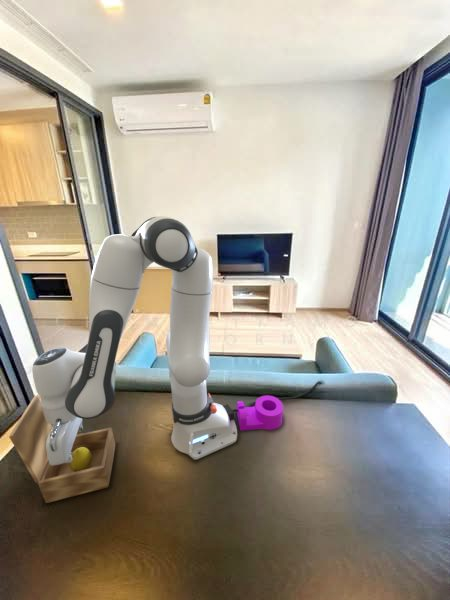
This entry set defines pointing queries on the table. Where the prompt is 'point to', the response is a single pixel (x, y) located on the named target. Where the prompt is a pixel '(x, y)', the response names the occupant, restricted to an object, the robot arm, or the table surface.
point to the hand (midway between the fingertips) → (74, 444)
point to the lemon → (81, 459)
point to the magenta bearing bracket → (260, 414)
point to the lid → (32, 438)
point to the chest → (97, 476)
